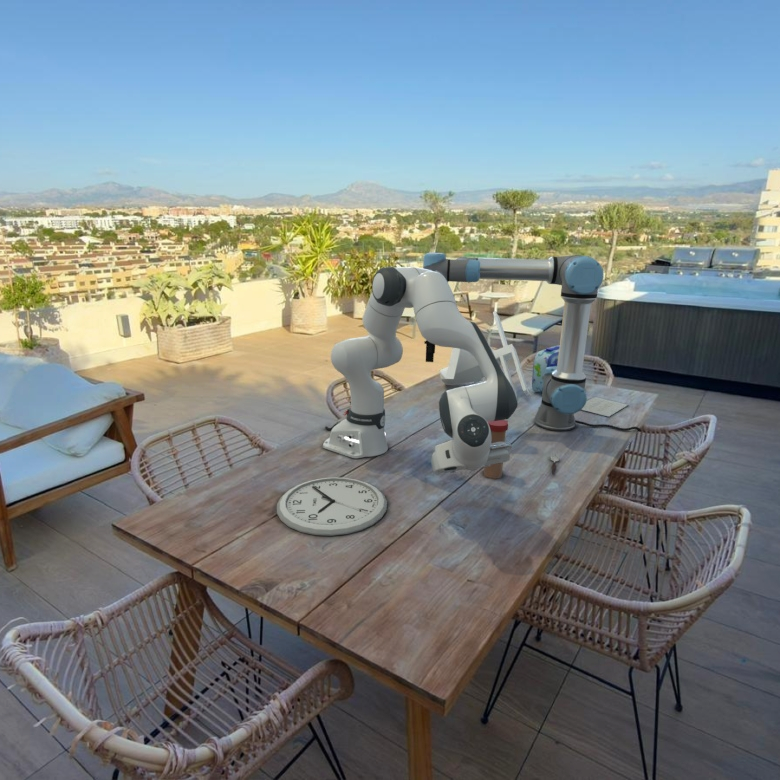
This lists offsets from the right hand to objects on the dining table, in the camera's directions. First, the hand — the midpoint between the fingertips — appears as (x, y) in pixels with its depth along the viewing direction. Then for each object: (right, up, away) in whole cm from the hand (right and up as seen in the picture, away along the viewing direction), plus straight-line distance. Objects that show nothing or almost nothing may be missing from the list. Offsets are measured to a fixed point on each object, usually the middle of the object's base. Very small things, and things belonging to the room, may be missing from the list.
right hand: (430, 357), depth 190 cm
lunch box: (+62, -12, +59) cm, 86 cm away
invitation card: (+77, -19, +37) cm, 87 cm away
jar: (+17, -38, -27) cm, 50 cm away
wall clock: (-30, -43, -47) cm, 71 cm away
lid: (+18, -22, -32) cm, 43 cm away
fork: (+38, -36, -21) cm, 57 cm away
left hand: (+7, -33, -48) cm, 58 cm away
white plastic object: (+27, -13, +54) cm, 61 cm away
